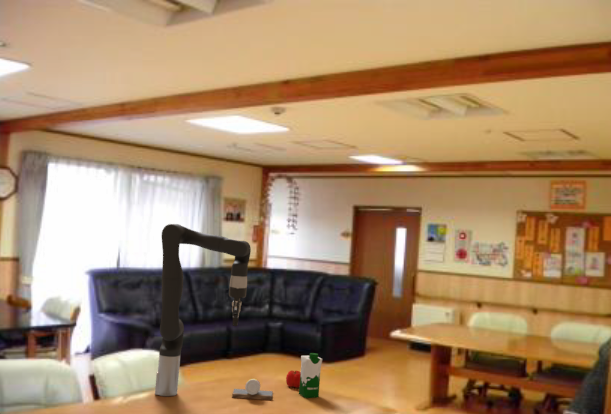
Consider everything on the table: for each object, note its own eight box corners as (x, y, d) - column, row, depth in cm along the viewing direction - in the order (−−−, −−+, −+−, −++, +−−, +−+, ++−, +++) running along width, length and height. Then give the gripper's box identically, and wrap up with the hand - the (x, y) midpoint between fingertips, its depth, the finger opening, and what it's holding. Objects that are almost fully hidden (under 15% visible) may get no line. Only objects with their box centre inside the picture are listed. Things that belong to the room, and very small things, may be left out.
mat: (232, 395, 273) (232, 394, 273) (234, 389, 283) (234, 388, 283) (272, 398, 273) (272, 397, 274) (272, 392, 283) (272, 391, 283)
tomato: (284, 384, 300) (285, 369, 300) (301, 384, 302) (302, 369, 302) (287, 389, 291) (289, 373, 291) (305, 389, 293) (307, 374, 293)
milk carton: (304, 398, 277) (307, 355, 278) (296, 393, 285) (299, 350, 286) (321, 397, 281) (324, 354, 281) (312, 392, 289) (315, 350, 289)
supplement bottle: (258, 378, 270) (259, 376, 282) (244, 381, 269) (245, 379, 282) (261, 393, 269) (261, 391, 281) (246, 396, 268) (247, 393, 280)
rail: (232, 397, 270) (232, 393, 270) (232, 396, 271) (232, 392, 271) (272, 400, 271) (272, 396, 271) (272, 399, 272) (272, 395, 272)
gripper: (230, 284, 271) (227, 322, 271) (228, 287, 258) (225, 327, 258) (247, 285, 272) (244, 324, 271) (246, 288, 259) (242, 329, 258)
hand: (234, 325), depth 264 cm, fingers closed
